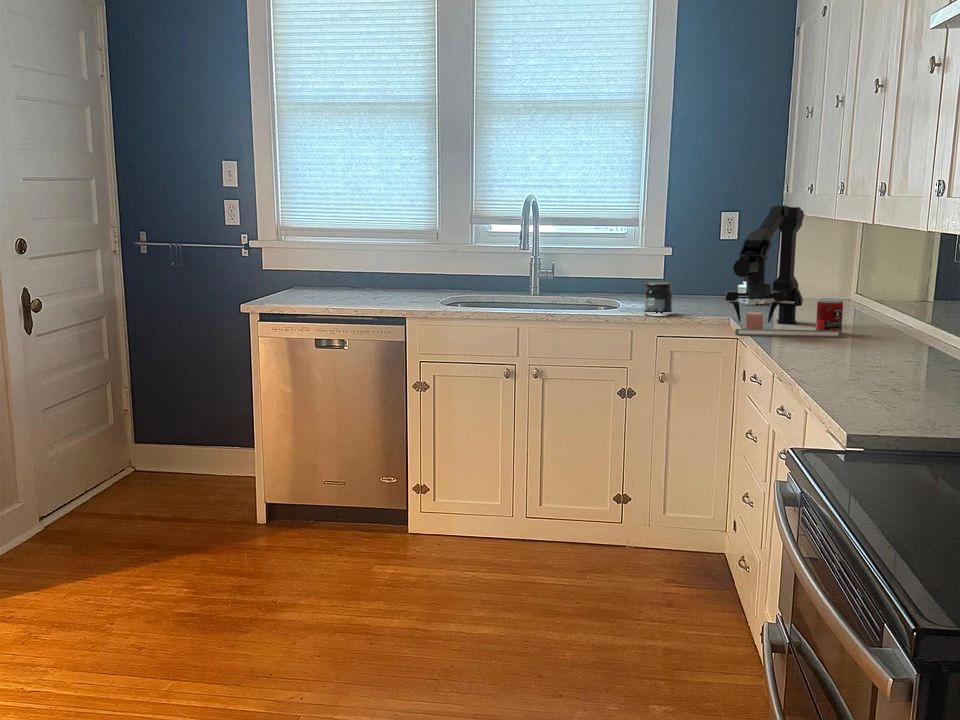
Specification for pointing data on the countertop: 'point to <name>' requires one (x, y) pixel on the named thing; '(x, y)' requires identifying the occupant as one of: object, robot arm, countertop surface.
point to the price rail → (788, 333)
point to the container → (743, 290)
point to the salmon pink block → (754, 320)
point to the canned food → (829, 314)
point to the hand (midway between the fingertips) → (754, 322)
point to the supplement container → (658, 297)
